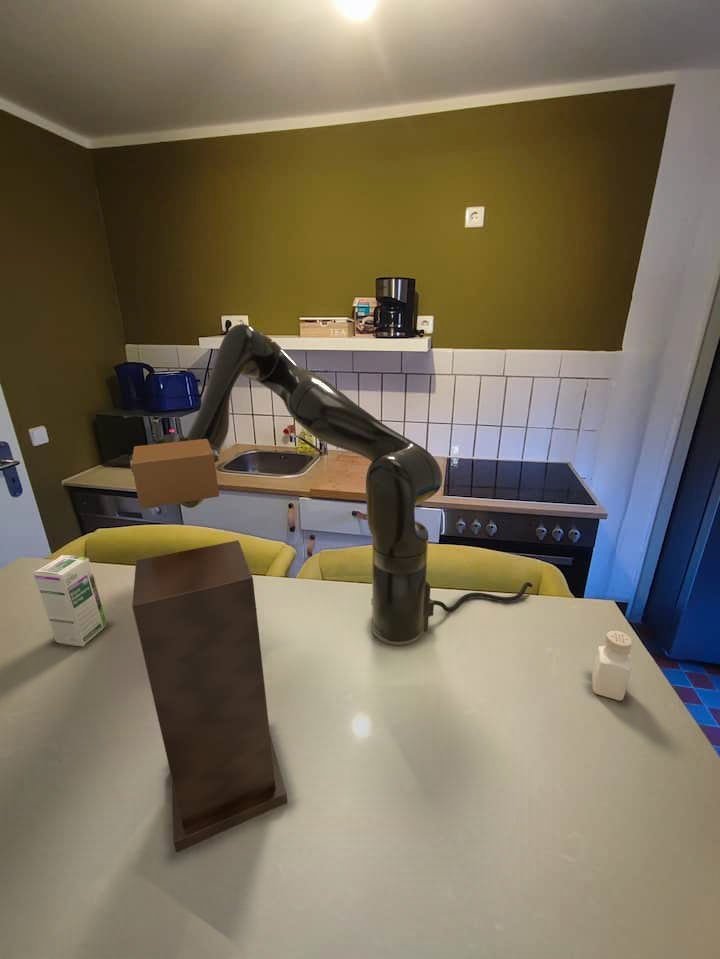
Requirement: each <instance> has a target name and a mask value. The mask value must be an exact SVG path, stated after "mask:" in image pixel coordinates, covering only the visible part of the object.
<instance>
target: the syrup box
mask: <svg viewBox="0 0 720 959" xmlns="http://www.w3.org/2000/svg"><path fill="white" fill-rule="evenodd" d="M32 575H33V578H34V581H35V584H36V585H35V586H36V588H37V590H38V594H39V596H40V599H41V602H42V605H43V608H44V611H45V615H46V617H47V620H48V623H49V626H50V628H51V632H52V634H53V638H54V640H55V643H58V644H63V645H69V646H76V647H82V648H83V647H85V646H86V645H87V643H88V642H90V641H91V640H92V639H93V638H94V637H96V636H97V635H98V634H99V633H100V632H101V631H103V629H105V628H106V627H107V626H108V623H107V619H106V615H105V612H104V608H103V605H102V601H101V598H100V594H99V591H98V586H97V583H96V580H95V577H94V573H93V569H92V565H91V562H90V558H89V557H86V556H80V555H72V554H70V555H69V554H61V555H60V556H58V557H57V558H56V559H53V561H50V562H49V563H47V564H45V565H44V566H42V567H40V568H39V569H37V570H35V571H33V572H32Z"/></svg>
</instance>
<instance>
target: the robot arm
mask: <svg viewBox="0 0 720 959" xmlns="http://www.w3.org/2000/svg"><path fill="white" fill-rule="evenodd" d="M240 376H243V377H245V378H247V379H249V380H252V381H254V382H256V383H259V384H260V385H262V386H264V387H265V388H266V389H269V390H270V391H271V392H273V393H274V394H275V395H277V396H278V397H279V398H280V399H281V400H282V401H283V404H284V406H285V409H286V410H287V412H288V413H289V415H290V416H291V417H292V418H293V420H294V421H295V422H296V423H297V424H299V425H300V426H301V427H302V428H303V429H304V430H306V431H307V433H309V434H310V435H311V436H312V437H314V438H316V439H317V440H319V441H321V442H323V443H325V444H327V445H330V446H333V447H335V448H339V449H341V450H344V451H347V452H351V453H354V454H357V455H359V456H361V457H364V458H365V459H367V460H368V461H370V462H371V463H370V464H369V466H368V468H367V470H366V471H367V472H366V477H365V499H366V515H367V526H368V529H369V532H370V535H371V539H372V541H371V542H372V547H371V548H372V553H371V554H372V555H371V556H372V566H371V567H372V569H371V570H372V573H371V574H372V575H371V576H372V577H371V579H372V580H371V586H372V589H371V590H372V591H371V631H372V633H373V635H374V636H375V638H376V639H377V640H379V641H380V642H382V643H385V644H387V645H391V646H398V647H399V646H400V647H402V646H408V645H411V644H412V645H413V644H414V643H416V642H418V641H419V640H420V639H421V638H422V636H423V635H424V633H426V632H428V631H429V619H430V617H432V616H434V610H435V608H434V607H435V606H439V607H440V608H442V609H443V611H445V612H448V613H450V612H453V611H455V610H457V609H458V608H459V607H460V605H461V604H462V603H463V602H464V601H466V600H467V599H469V598H485V599H490V600H494V601H499V602H515V601H517V600H519V599H521V598H522V597H523V595H524V594H525V593H526V590H527V589H528V587H529V588H532V587H533V586H534V585H533V584H532V583H531V582H529V581H526V582H524V583H523V585H522V587H521V588H520V591H519V592H518V593H517V594H516V595H513V596H499V595H495V594H491V593H486V592H485V593H484V592H470V593H469V592H468V593H467V594H463V595H462V596H461V597H460V598H459V599H458V600H457V601H456V602H455V603H454V604H453V605H451V606H447V605H446V604H445V603H444V602H443V601H440V600H434V599H431V584H430V583H429V582H428V581H427V572H428V571H427V570H428V567H427V566H428V550H429V530H428V529H427V527H426V526H425V525H424V524H423V523H421V522H420V521H417V520H416V518H415V513H416V512H415V510H416V508H415V507H416V506H417V505H419V504H422V503H423V502H425V501H427V500H429V499H430V498H432V497H433V496H434V495H436V494H437V493H438V492H439V491H440V489H441V487H442V484H443V473H442V469H441V466H440V464H439V463H438V461H437V460H436V458H435V457H434V456H433V455H432V453H431V452H430V451H428V450H427V449H425V448H424V447H423V446H421V445H419V444H418V443H416V442H414V441H412V440H411V439H409V438H407V437H406V436H404V435H402V434H400V432H399V433H398V432H397V431H395V430H393V429H392V428H391V427H388V426H387V425H385V424H384V423H382V422H381V421H380V420H378V419H377V418H375V416H373V415H372V414H370V413H369V412H368V411H366V410H365V409H364V408H362V407H361V406H359V405H358V404H357V403H355V402H354V401H353V400H352V399H350V398H349V397H348V396H347V395H346V394H344V393H343V392H342V391H340V390H339V389H338V388H336V387H335V386H334V385H332V384H331V383H329V382H328V381H326V380H325V379H324V378H322V377H320V376H319V375H317V374H316V373H313V372H312V371H309V370H307V369H305V368H303V367H302V366H301V365H299V364H298V363H297V362H296V361H295V360H294V359H293V358H291V356H290V355H289V354H288V353H287V352H285V350H284V349H283V348H282V347H281V346H280V345H279V344H278V343H277V342H276V341H275V340H273V339H272V338H270V337H269V336H267V335H265V334H264V333H262V332H261V331H260V330H257V329H256V328H254V327H252V326H251V325H248V324H245V323H239V324H235V325H234V326H232V327H231V328H230V329H229V330H228V331H227V332H226V334H225V335H224V338H223V339H222V340H221V343H220V346H219V348H218V350H217V353H216V357H215V361H214V363H213V367H212V369H211V373H210V376H209V378H208V383H207V386H206V389H205V393H204V395H203V398H202V401H201V405H200V407H199V410H198V412H197V415H196V417H195V419H194V421H193V423H192V425H191V427H190V428H189V431H188V433H187V435H186V437H185V435H184V434H181V435H179V440H180V442H181V441H190V440H200V439H207V440H208V442H209V444H210V447H211V449H212V451H213V454H214V460H215V463H217V462H220V458H219V453H220V451H221V449H222V447H223V446H224V443H225V441H226V440H227V436H228V433H229V428H230V403H231V401H230V400H231V395H232V391H233V389H234V387H235V385H236V383H237V381H238V379H239V378H240ZM162 443H165V436H163V437H162V436H161V437H158V440H155V441H154V442H153V444H162ZM132 457H133V453H132V454H131V455H129V463H130V471H131V472H132V473H133V471H132V466H131V463H132ZM204 500H205V499H200V500H194V501H187V502H181V503H177V504H179V505H180V506H182V507H185V508H187V509H194V508H196V507H198V506H200V505H201V504H202V503H203V501H204Z"/></svg>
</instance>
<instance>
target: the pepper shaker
mask: <svg viewBox="0 0 720 959" xmlns="http://www.w3.org/2000/svg"><path fill="white" fill-rule="evenodd" d="M604 640H605V641H604V643H603V645H599V646H598V648H597V652H596V656H595V661H594V665H593V668H592V674H591V680H592V681H591V682H592V691H593V693H594V694H596V695H599V696H602V697H605V698H609V699H612V700H615V701H623V700H624V698H625V694H626V691H627V687H628V685H629V684H628V683H629V680H630V676H631V672H632V661H631V657H630V654H631V650H632V646H633V640H632V637H631V636H629V635H628V634H626V633H624V632H622V631H619V630H610V631H607V633H606V636H605V639H604Z"/></svg>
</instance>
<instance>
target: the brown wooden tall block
mask: <svg viewBox="0 0 720 959" xmlns="http://www.w3.org/2000/svg"><path fill="white" fill-rule="evenodd" d="M254 585H255V584H254V577H253V574H252V572H251V569H250V566H249V564H248V561H247V559H246V555H245V553H244V550H243V548H242V546H241V543H240V540H233V541H227V542H223V543H217V544H212V545H207V546H203V547H197V548H193V549H186V550H183V551H176V552H171V553H167V554H162V555H157V556H152V557H147V558H142V559H137V560H135V568H134V580H133V592H132V593H133V594H132V603H131V604H132V611H133V612H132V613H133V617H134V620H135V625H136V629H137V633H138V637H139V641H140V646H141V650H142V655H143V659H144V665H145V669H146V672H147V678H148V682H149V685H150V690H151V694H152V698H153V704H154V707H155V713H156V716H157V720H158V725H159V729H160V733H161V738H162V742H163V747H164V751H165V754H166V759H167V764H168V768H169V772H170V778H171V779H170V780H171V809H172V810H171V812H172V836H173V840H172V841H173V846H174V851H175V853H178V852H180V851H182V850H184V849H187V848H189V847H191V846H193V845H196V844H198V843H201V842H202V841H205V840H207V839H209V838H212V837H213V836H216V835H218V834H220V833H223V832H224V831H227V830H229V829H232V828H234V827H236V826H238V825H240V824H242V823H243V824H244V823H246V822H247V821H250V820H253V819H254V818H256V817H258V816H261V815H263V814H265V813H267V812H270V811H271V810H274V809H276V808H278V807H282V806H283V805H285V804H287V803H288V794H287V790H286V789H287V788H286V785H285V782H284V778H283V775H282V771H281V768H280V765H279V760H278V757H277V753H276V750H275V746H274V743H273V742H274V741H273V739H272V735H271V732H270V722H269V715H268V714H269V713H268V712H269V711H268V703H267V693H266V686H265V675H264V667H263V659H262V657H263V656H262V648H261V640H260V631H259V630H260V629H259V621H258V613H257V604H256V594H255V586H254Z"/></svg>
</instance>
